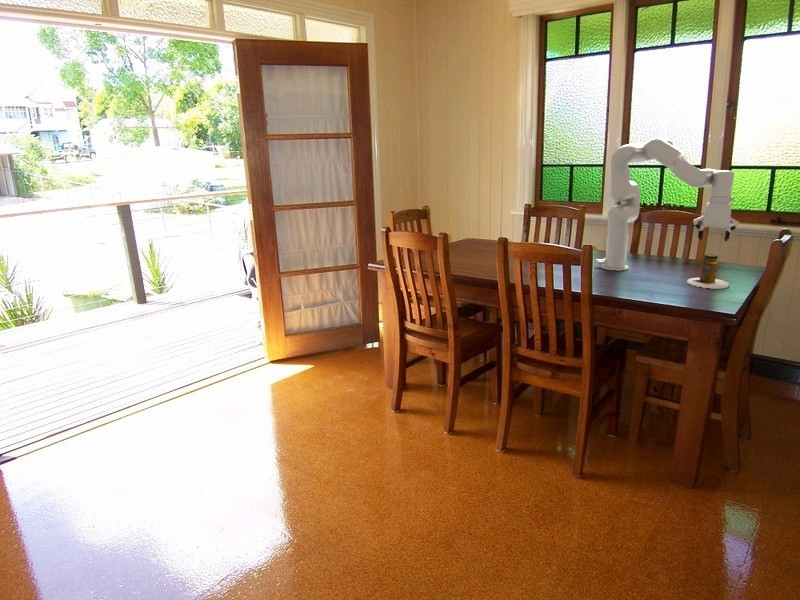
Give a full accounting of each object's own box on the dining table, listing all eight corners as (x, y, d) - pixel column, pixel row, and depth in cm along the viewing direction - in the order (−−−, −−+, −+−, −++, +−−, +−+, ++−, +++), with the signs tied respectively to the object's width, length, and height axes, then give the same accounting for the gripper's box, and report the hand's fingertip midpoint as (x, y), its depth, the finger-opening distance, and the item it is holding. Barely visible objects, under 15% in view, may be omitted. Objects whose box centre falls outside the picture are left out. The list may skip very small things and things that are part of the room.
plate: (689, 287, 235) (690, 285, 234) (685, 278, 249) (685, 276, 249) (731, 290, 229) (732, 287, 229) (724, 281, 243) (724, 278, 243)
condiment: (719, 282, 238) (723, 255, 234) (706, 285, 234) (710, 257, 231) (704, 278, 244) (708, 252, 241) (691, 281, 240) (695, 254, 237)
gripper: (740, 200, 229) (733, 239, 234) (695, 198, 235) (689, 237, 240) (744, 202, 222) (737, 243, 228) (697, 200, 228) (691, 240, 233)
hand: (712, 240), depth 234 cm, fingers open, 9 cm apart
